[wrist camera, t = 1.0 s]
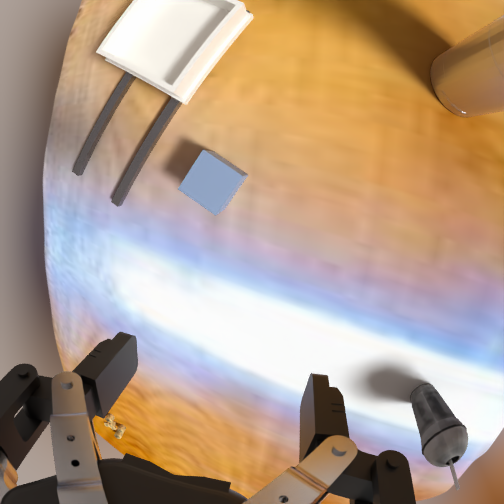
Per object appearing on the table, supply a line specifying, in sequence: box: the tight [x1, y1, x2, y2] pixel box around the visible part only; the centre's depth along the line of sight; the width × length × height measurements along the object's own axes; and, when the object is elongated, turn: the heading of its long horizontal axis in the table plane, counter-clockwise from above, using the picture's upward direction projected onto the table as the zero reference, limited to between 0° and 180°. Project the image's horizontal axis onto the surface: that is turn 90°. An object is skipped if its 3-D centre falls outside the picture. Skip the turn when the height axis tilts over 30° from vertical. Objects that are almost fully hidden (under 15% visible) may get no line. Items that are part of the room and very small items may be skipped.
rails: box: [72, 10, 250, 206], centre depth 33 cm, size 30×9×1 cm, turn 145°
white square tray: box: [96, 0, 253, 105], centre depth 28 cm, size 13×13×6 cm
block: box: [178, 150, 248, 215], centre depth 34 cm, size 5×5×5 cm
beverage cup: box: [410, 384, 468, 490], centre depth 32 cm, size 7×7×20 cm
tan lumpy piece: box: [104, 414, 126, 439], centre depth 51 cm, size 5×5×2 cm
